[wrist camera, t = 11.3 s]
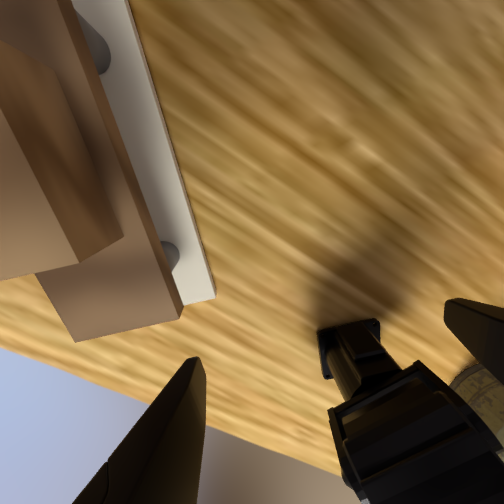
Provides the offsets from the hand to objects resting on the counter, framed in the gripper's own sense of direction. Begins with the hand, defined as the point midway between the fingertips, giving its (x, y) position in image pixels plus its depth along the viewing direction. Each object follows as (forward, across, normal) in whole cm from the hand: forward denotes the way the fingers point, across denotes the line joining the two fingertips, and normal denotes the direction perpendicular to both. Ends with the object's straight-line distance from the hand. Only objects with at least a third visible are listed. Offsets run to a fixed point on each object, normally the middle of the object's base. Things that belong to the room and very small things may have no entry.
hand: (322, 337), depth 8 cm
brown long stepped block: (+8, +11, -8) cm, 16 cm away
